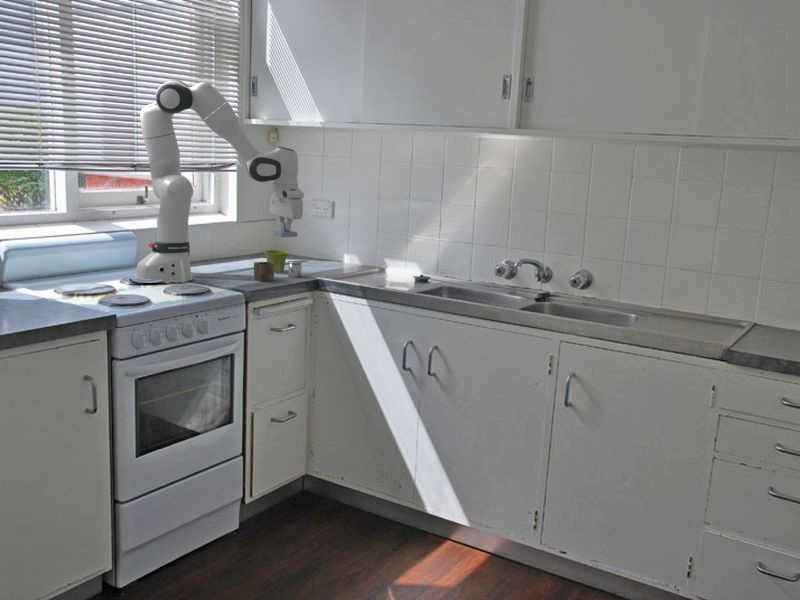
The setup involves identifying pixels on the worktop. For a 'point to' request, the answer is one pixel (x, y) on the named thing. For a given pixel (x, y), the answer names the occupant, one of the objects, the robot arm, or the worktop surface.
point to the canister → (263, 271)
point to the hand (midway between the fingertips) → (285, 229)
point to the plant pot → (277, 259)
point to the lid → (285, 232)
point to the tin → (294, 269)
